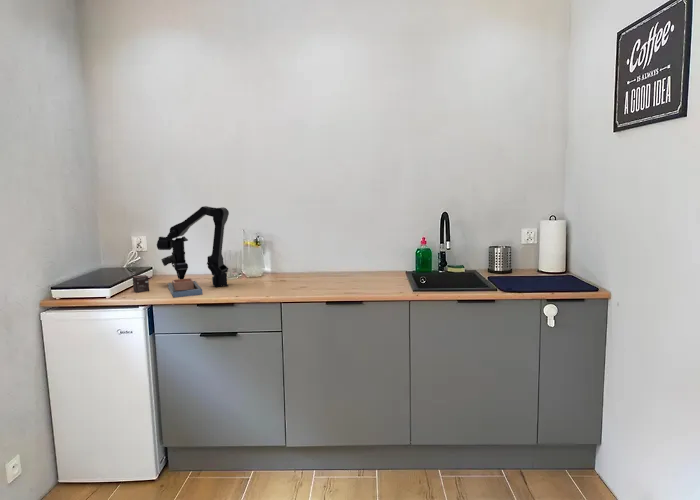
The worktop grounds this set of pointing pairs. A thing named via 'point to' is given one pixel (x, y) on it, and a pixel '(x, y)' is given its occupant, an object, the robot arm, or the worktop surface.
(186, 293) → the crate bay
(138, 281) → the box
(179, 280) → the crate
